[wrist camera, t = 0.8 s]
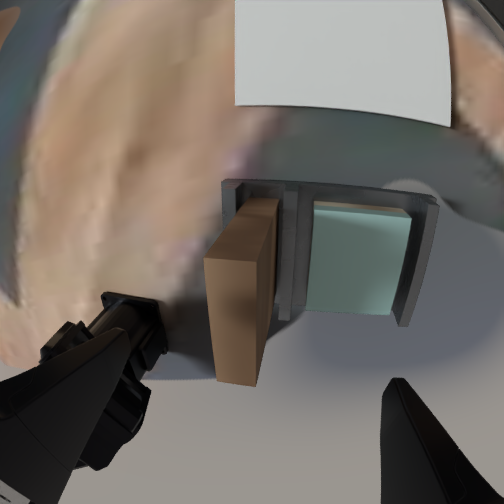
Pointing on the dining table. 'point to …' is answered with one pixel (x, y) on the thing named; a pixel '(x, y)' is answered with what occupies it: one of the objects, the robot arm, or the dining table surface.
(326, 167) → the dining table surface
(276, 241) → the brown flat block
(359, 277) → the offcut upper
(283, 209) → the rack
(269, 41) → the board
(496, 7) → the picture frame
